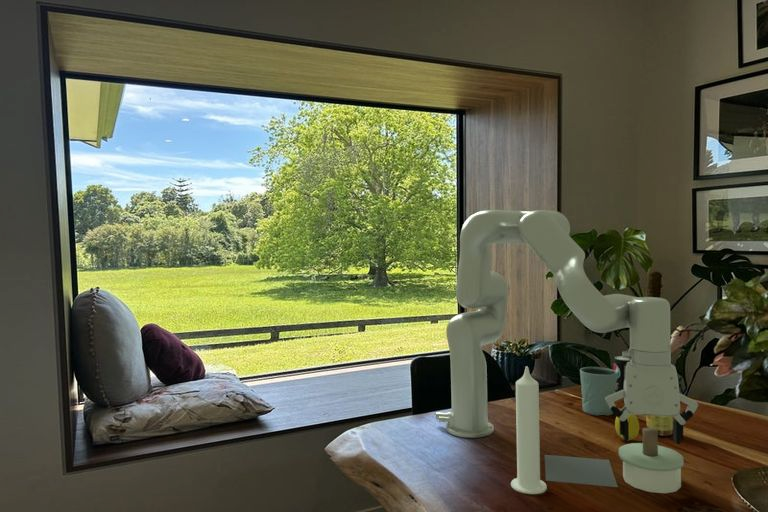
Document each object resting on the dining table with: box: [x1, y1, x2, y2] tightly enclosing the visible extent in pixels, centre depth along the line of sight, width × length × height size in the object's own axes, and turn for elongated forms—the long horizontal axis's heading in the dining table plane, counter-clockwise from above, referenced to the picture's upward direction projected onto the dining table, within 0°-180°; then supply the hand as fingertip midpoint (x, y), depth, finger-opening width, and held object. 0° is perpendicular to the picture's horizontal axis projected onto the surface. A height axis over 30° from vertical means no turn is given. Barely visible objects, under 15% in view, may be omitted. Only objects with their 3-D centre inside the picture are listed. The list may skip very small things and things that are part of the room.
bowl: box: [622, 460, 682, 494], centre depth 111 cm, size 10×10×5 cm
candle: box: [510, 365, 548, 495], centre depth 110 cm, size 7×7×25 cm
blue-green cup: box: [579, 366, 617, 416], centre depth 158 cm, size 10×10×12 cm
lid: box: [618, 427, 684, 471], centre depth 111 cm, size 12×12×6 cm
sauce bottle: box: [645, 415, 674, 437], centre depth 139 cm, size 6×6×20 cm
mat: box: [544, 454, 619, 488], centre depth 118 cm, size 14×14×1 cm
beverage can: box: [613, 355, 630, 393], centre depth 174 cm, size 7×7×12 cm
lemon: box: [614, 414, 640, 442], centre depth 134 cm, size 6×6×8 cm
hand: (650, 440), depth 111 cm, fingers open, 9 cm apart
